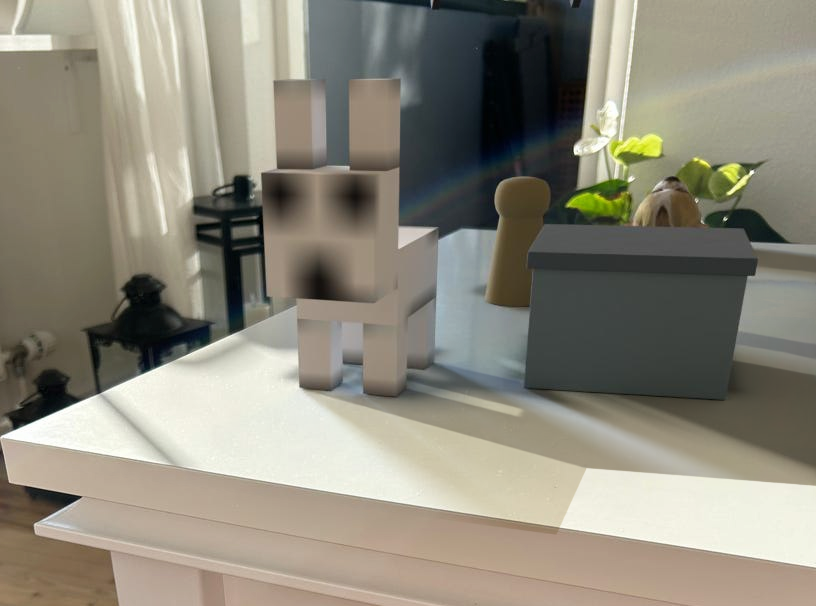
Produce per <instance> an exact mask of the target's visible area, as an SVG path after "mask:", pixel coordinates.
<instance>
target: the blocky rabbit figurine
mask: <svg viewBox="0 0 816 606" xmlns="http://www.w3.org/2000/svg"><path fill="white" fill-rule="evenodd" d="M401 81H402V78H399V77H398V78H396V77H395V78H394V77H393V78H391V77H390V78H355V79H354V78H353V79H349V80H348V123H349V124H348V132H349V134H348V135H349V137H348V138H349V142H348V143H349V147H348V148H349V165H328V153H327V152H328V150H327V146H328V145H327V97H326V96H327V95H326V93H327V92H326V90H327V89H326V78H291V79H290V78H289V79H288V78H287V79H274V80H273V81H272V82H273V106H274V108H273V109H274V131H275V133H274V134H275V154H276V168H274V169H270V170H266V171H262V172H260V176H261V177H260V180H261V201H262V203H261V204H262V222H263V223H262V224H263V243H264V266H265V267H264V268H265V285H266V289H265V290H266V298H267V297H268V298H284V299H286V298H287V299H295V301H296V329H297V358H298V359H297V360H298V388H300V389H308V390H319V391H333V390H334V389H335V388H336V387H338V386H339V385H340V384H342V383H343V381H344V377H343V375H344V373H343V370H344V369H343V364H353V365H362V394H363V395H373V396H384V397H393V398H397V396H399V395H400V394H401V393H402V392H403V391H405V389H407V379H408V378H407V374H408V369H413V370H425V371H426V370H427V369H428V368H429V367H430V366H431V365H432V364H433V363H434V362H435V353H436V323H437V295H438V291H437V289H438V262H439V235H440V234H439V233H440V229H439V228H440V227H438V226H416V225H400V223H399V222H400V221H399V220H400V219H399V218H400V210H399V209H400V164H401V163H400V161H401V159H400V158H401V157H400V154H401V153H400V152H401V151H400V150H401V92H402V90H401V87H402V82H401Z"/></svg>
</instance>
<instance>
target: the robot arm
mask: <svg viewBox="0 0 816 606" xmlns="http://www.w3.org/2000/svg"><path fill="white" fill-rule="evenodd" d="M581 2H582V0H569V3H570V9H579V8H580V6H581ZM441 3H442V0H430V7H431V10H433V11H434V10H435V11H436V10H437V11H438V10H440V8H441Z"/></svg>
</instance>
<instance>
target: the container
mask: <svg viewBox="0 0 816 606" xmlns="http://www.w3.org/2000/svg"><path fill="white" fill-rule="evenodd" d="M758 262H759V257H758V256H757V254H756V252H755V250H754V248H753V246H752V243H751V241H750V239H749V237H748V235H747V233H746V230H745V228H738V227H737V228H735V227H733V228H732V227H710V228H697V227H653V226H621V225H603V224H565V223H564V224H561V223H559V224H558V223H545V224H543V228H542V230H541V231H540V233H539V235H538V236H537V238H536V240H535V241H534V243H533V245H532V246H531V248H530V250H529V251H528V256H527V269H533V274H532V287H531V300H530V306H529V313H528V315H529V316H528V326H527V327H528V328H527V341H526V353H525V365H524V377H523V378H524V379H523V388H524V389H536V390H550V391H551V390H552V391H568V392H582V393H583V392H584V393H585V392H586V393H600V394H601V393H602V394H603V393H604V394H616V395H617V394H618V395H633V396H634V395H635V396H650V397H652V396H653V397H667V398H668V397H669V398H683V399H684V398H686V399H701V400H715V401H716V400H719V401H725V400H726V398H727V394H728V388H729V384H730V377H731V371H732V366H733V361H734V356H735V351H736V344H737V337H738V331H739V327H740V323H741V322H740V321H741V317H742V310H743V309H742V308H743V305H744V299H745V293H746V289H747V284H748V283H747V282H748V277H755V276H756V273H757V268H758Z"/></svg>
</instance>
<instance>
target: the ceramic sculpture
mask: <svg viewBox="0 0 816 606" xmlns="http://www.w3.org/2000/svg"><path fill="white" fill-rule="evenodd" d="M701 221H702V212H701V210H700V208H699V206H698V203H697V201H696V198H695V197H694V196H693V194H691V192H690V190H689V187H688V186H687V184H686V183H685V182H684V181H683V180H682V179H680V178H679V177H677V176H674V175H670V176H667V177H665V178H664V179H662V180H661V181H659V182H658V183H657V184H656V185H655V186H654V187H653V189H652V190H651V192H650V193H649V194H647V196H646V197H645V198H644V199H643V201H642V202H641V203H640V204H639V205H638V207H637V209H636V212H635V214H634V216H633V219H632V220H631V221H629V222H624V223H621V224H620V226H653V227H697V228H711V226H710V225H709V224H705V223H703V222H701Z"/></svg>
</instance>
